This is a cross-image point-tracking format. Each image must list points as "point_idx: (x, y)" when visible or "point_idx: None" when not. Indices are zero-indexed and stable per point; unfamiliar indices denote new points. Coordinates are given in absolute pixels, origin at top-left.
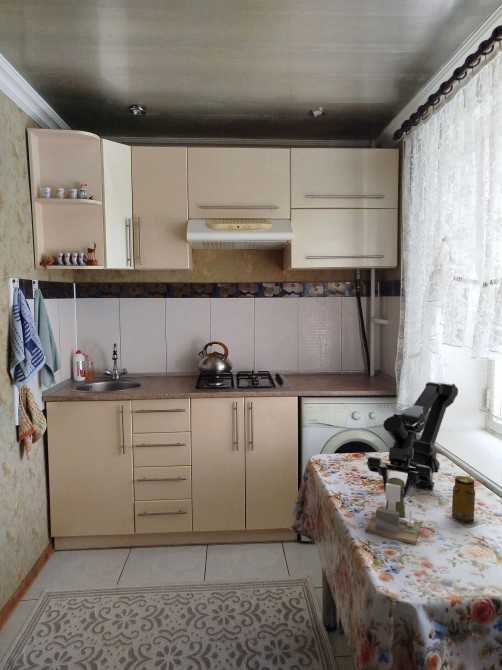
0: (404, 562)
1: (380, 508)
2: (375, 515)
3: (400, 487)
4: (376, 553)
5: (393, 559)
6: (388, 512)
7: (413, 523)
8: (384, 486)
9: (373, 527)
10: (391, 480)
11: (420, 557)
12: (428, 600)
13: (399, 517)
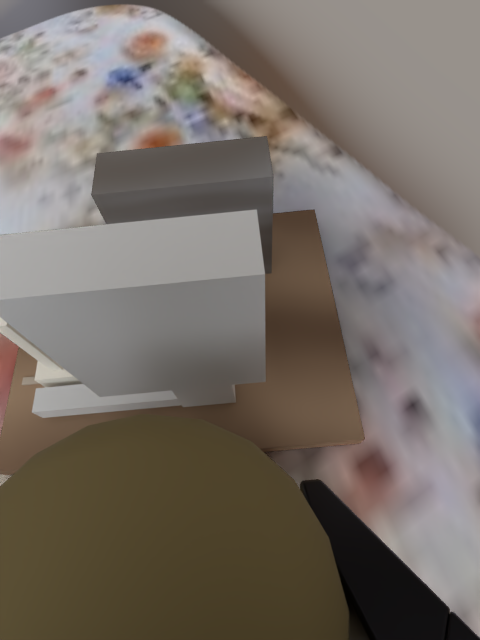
0: (93, 122)
1: (245, 173)
2: (333, 395)
3: (3, 318)
4: (205, 117)
5: (135, 118)
6: (171, 153)
7: (39, 373)
8: (360, 525)
9: (281, 245)
10: (212, 513)
11: (31, 174)
12: (19, 31)
13: (144, 400)
